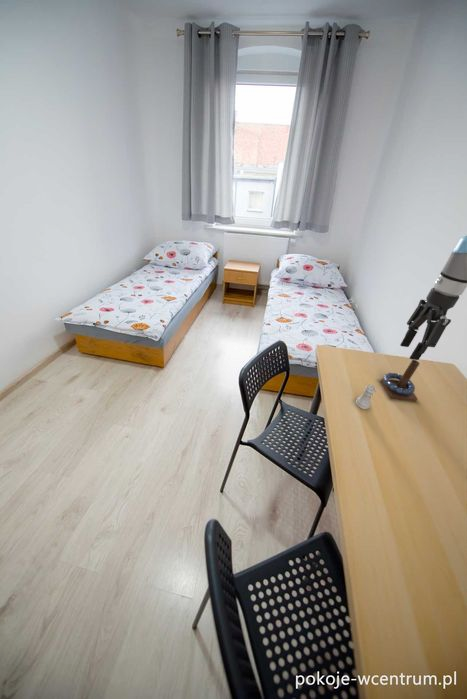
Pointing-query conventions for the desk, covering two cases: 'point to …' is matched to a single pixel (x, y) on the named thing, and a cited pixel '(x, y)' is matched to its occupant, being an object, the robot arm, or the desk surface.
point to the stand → (403, 384)
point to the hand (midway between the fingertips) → (408, 352)
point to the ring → (395, 388)
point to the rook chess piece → (365, 397)
